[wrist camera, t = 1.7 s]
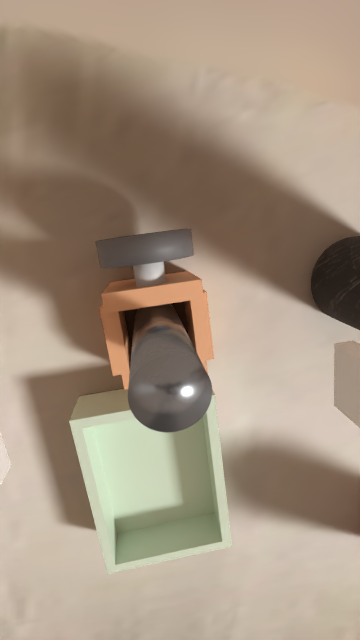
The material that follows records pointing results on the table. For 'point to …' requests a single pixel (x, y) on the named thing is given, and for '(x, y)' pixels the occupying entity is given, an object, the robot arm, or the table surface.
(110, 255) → the block
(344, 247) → the travel mug
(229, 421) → the table surface
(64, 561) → the table surface
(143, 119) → the table surface
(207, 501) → the tray
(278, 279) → the table surface
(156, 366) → the pin
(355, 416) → the robot arm
